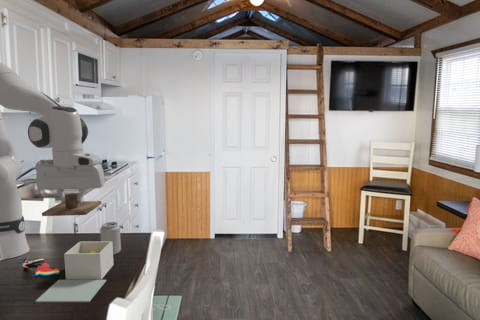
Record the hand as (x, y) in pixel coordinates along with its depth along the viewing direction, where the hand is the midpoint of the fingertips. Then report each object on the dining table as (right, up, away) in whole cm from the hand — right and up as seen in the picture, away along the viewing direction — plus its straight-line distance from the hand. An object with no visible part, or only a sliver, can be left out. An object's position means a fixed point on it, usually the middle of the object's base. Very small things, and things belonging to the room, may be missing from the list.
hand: (72, 202), depth 116 cm
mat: (0, -28, 0) cm, 28 cm away
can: (+1, -24, +32) cm, 40 cm away
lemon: (0, -26, +14) cm, 30 cm away
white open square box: (0, -26, +14) cm, 30 cm away
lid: (0, -2, 0) cm, 2 cm away
